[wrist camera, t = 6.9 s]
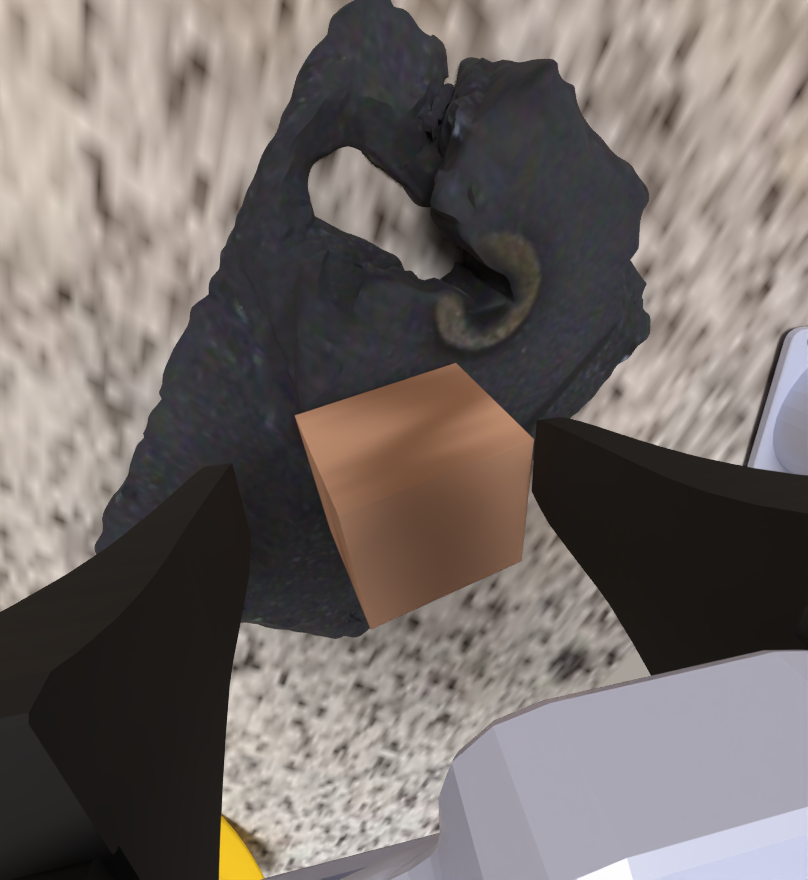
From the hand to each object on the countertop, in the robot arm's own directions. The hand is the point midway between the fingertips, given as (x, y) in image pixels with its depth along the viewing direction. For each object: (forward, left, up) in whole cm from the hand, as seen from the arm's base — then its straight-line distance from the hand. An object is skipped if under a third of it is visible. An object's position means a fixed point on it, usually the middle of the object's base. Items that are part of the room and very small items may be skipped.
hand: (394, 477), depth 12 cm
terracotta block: (0, +1, -4) cm, 4 cm away
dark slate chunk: (0, +1, -8) cm, 8 cm away
